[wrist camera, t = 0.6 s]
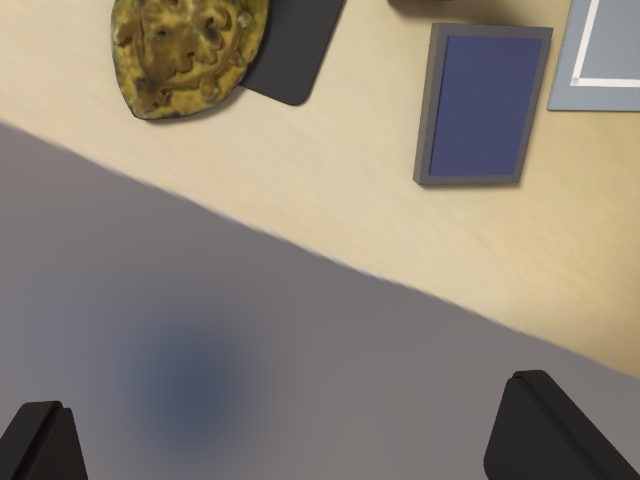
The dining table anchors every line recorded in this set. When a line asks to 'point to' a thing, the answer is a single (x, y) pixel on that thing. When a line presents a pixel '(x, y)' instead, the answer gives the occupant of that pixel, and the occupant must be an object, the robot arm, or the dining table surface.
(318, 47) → the phone
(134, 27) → the brass ornament
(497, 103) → the ink pad
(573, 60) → the stamp card
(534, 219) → the dining table surface
